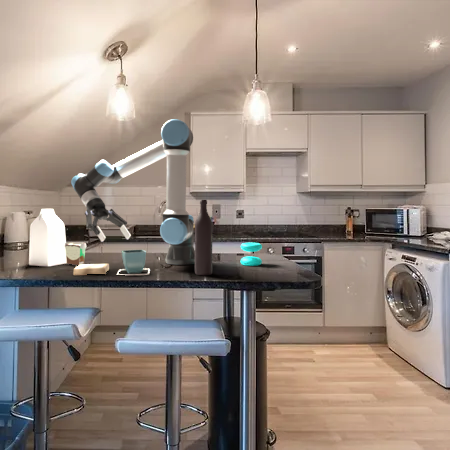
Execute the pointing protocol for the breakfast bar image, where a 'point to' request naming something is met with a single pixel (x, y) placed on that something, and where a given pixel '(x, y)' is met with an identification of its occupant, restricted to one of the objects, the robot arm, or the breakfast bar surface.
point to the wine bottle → (203, 241)
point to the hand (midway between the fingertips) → (116, 238)
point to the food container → (75, 252)
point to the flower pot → (134, 260)
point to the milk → (47, 240)
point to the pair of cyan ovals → (251, 260)
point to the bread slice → (91, 269)
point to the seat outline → (133, 274)
